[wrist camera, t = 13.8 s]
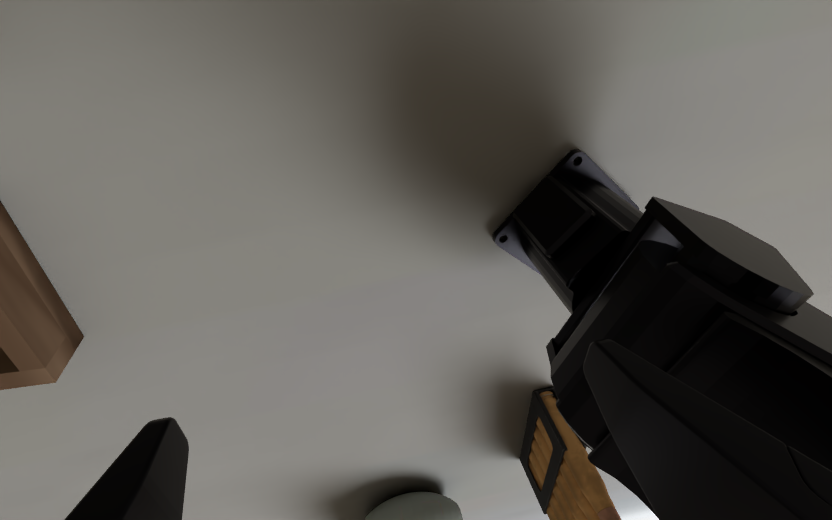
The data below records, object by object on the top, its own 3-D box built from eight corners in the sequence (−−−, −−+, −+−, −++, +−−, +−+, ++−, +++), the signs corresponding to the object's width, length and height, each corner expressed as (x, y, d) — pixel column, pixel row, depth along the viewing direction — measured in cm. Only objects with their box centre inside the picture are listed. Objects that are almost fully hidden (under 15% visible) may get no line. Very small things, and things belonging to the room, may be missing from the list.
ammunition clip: (533, 389, 33) (623, 560, 24) (554, 385, 33) (652, 551, 24) (519, 459, 39) (586, 617, 30) (537, 455, 40) (610, 609, 30)
